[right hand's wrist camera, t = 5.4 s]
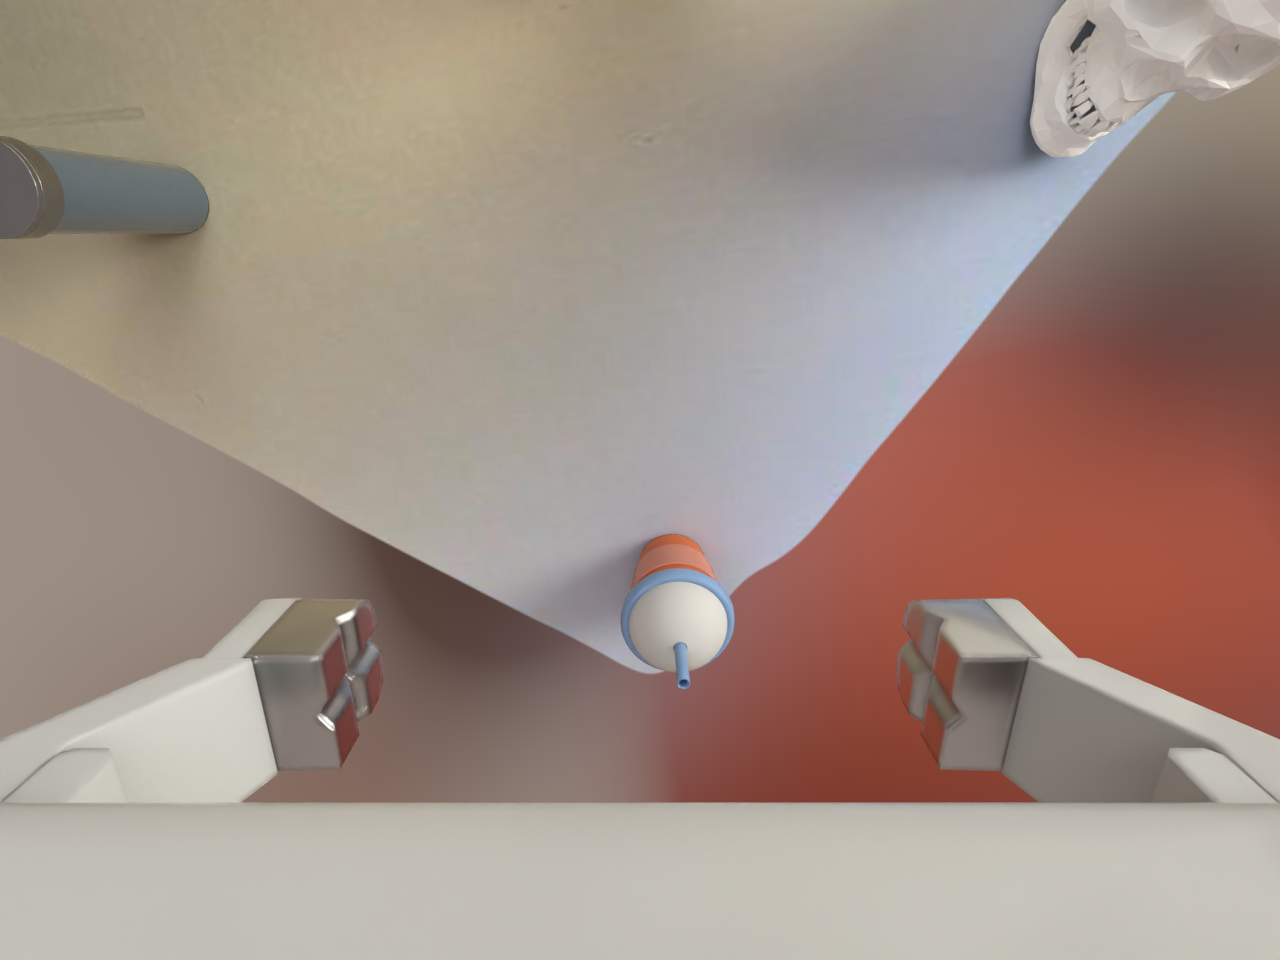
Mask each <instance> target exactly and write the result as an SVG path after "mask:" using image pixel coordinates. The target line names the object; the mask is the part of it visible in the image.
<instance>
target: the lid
mask: <svg viewBox="0 0 1280 960" xmlns="http://www.w3.org/2000/svg"><path fill="white" fill-rule="evenodd" d="M64 205H65V200H64V193H63V188H62V185H61V182H60V180H59V178H58V176H57V174H56V172H55V170H54V169H53V167H52V166H51V165H50V163H49V162H48V161H47V160H46V159H45V158H44V157H43V156H42V155H41V154H40V153H39V152H38V151H37V150H35V149H34V148H33V147H31V146H29V145H28V144H26V143H24V142H22V141H20V140H17V139H14V138H10V137H4V136H0V239H26V238H38V237H42V236H45V235H47V234H49V233H50V232H52V231H53V230H54V229H55V228H56V227H57V226H58V224H59V223H60V221H61V219H62V216H63V213H64Z"/></svg>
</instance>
